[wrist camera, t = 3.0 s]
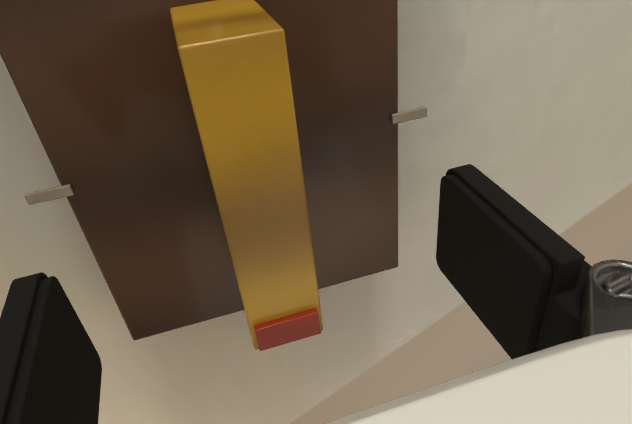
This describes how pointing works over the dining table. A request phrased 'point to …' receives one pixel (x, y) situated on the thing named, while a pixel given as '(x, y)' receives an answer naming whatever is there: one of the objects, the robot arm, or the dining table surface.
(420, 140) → the dining table surface
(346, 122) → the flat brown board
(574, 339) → the robot arm
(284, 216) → the yellow block
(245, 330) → the dining table surface
